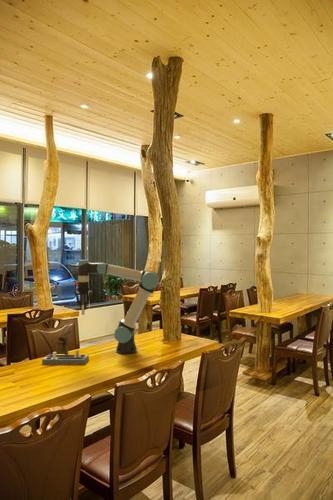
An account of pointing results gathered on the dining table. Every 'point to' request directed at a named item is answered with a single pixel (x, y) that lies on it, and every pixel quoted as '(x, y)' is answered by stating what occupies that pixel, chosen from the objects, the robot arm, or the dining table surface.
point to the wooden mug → (62, 343)
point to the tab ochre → (77, 354)
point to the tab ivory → (54, 355)
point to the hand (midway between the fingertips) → (83, 314)
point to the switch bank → (65, 359)
